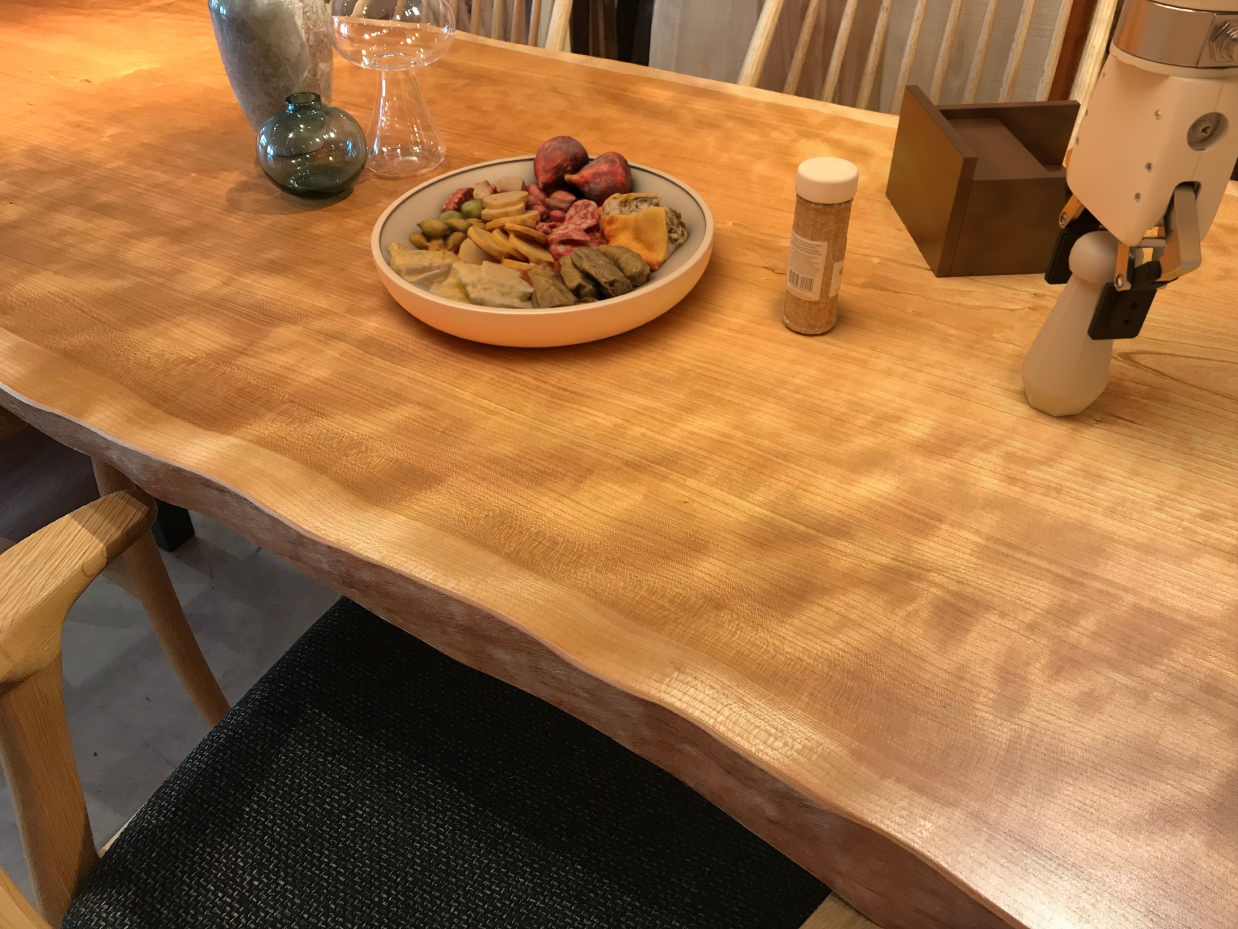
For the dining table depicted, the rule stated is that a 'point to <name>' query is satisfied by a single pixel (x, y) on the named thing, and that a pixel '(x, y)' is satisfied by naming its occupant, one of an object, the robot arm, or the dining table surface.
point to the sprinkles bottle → (818, 243)
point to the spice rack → (981, 182)
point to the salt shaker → (1074, 334)
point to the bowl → (544, 247)
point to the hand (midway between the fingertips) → (1088, 306)
